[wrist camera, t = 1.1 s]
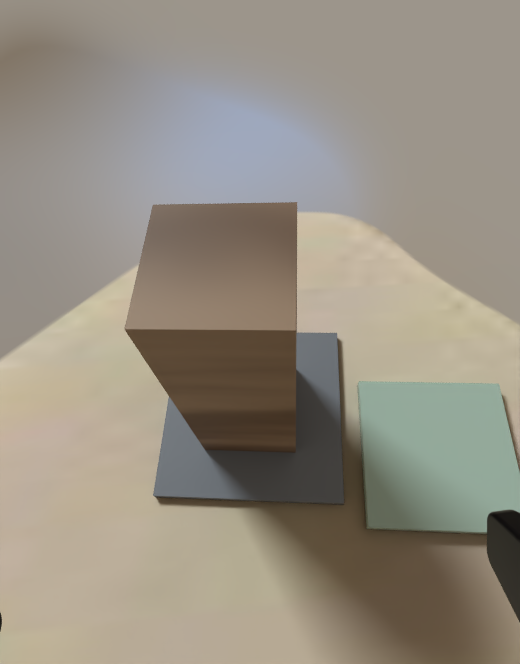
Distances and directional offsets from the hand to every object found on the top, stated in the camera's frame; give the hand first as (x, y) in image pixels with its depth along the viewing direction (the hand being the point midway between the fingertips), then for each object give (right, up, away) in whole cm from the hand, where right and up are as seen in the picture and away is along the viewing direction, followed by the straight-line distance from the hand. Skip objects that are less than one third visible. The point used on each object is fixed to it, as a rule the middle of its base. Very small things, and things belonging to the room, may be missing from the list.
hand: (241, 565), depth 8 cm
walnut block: (0, 0, +15) cm, 15 cm away
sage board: (+9, -2, +14) cm, 16 cm away
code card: (0, 0, +15) cm, 15 cm away
